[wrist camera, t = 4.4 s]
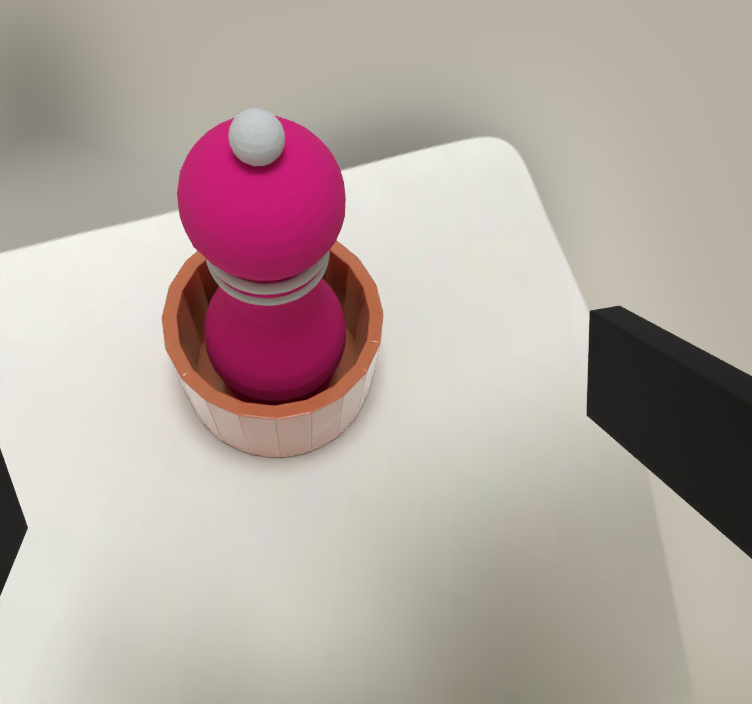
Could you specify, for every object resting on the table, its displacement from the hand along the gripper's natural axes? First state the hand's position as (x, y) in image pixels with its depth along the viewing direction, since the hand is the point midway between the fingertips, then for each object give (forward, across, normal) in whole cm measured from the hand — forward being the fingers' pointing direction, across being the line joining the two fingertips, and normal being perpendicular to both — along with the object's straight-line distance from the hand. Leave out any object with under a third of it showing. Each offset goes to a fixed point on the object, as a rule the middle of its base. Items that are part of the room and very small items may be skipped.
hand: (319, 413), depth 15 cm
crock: (+24, 0, -9) cm, 25 cm away
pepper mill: (+23, 0, -8) cm, 25 cm away
